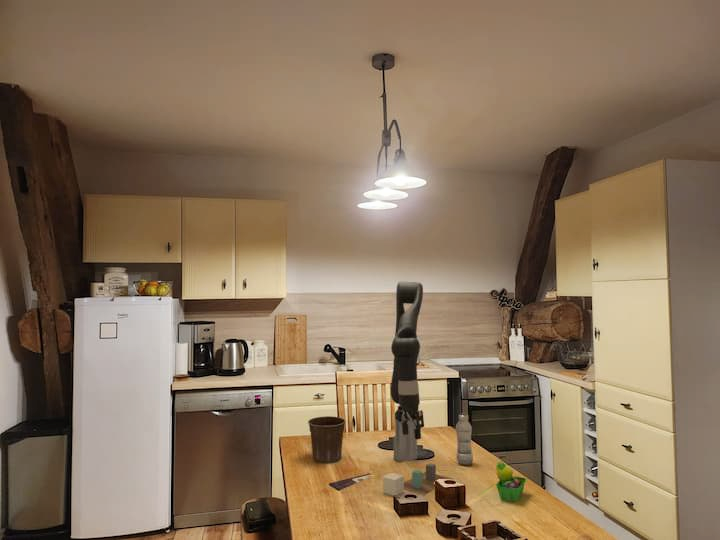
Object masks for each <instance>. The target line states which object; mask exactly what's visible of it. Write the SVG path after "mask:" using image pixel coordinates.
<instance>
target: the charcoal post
mask: <svg viewBox="0 0 720 540" xmlns="http://www.w3.org/2000/svg"><path fill="white" fill-rule="evenodd" d="M436 466H437V465H436V464H435V463H431V462H430V463H429V462H428V463H427V464H426V465H425V472H426V480H428V481H434V480H436V474H437V473H436V470H437V469H436Z"/></svg>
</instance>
